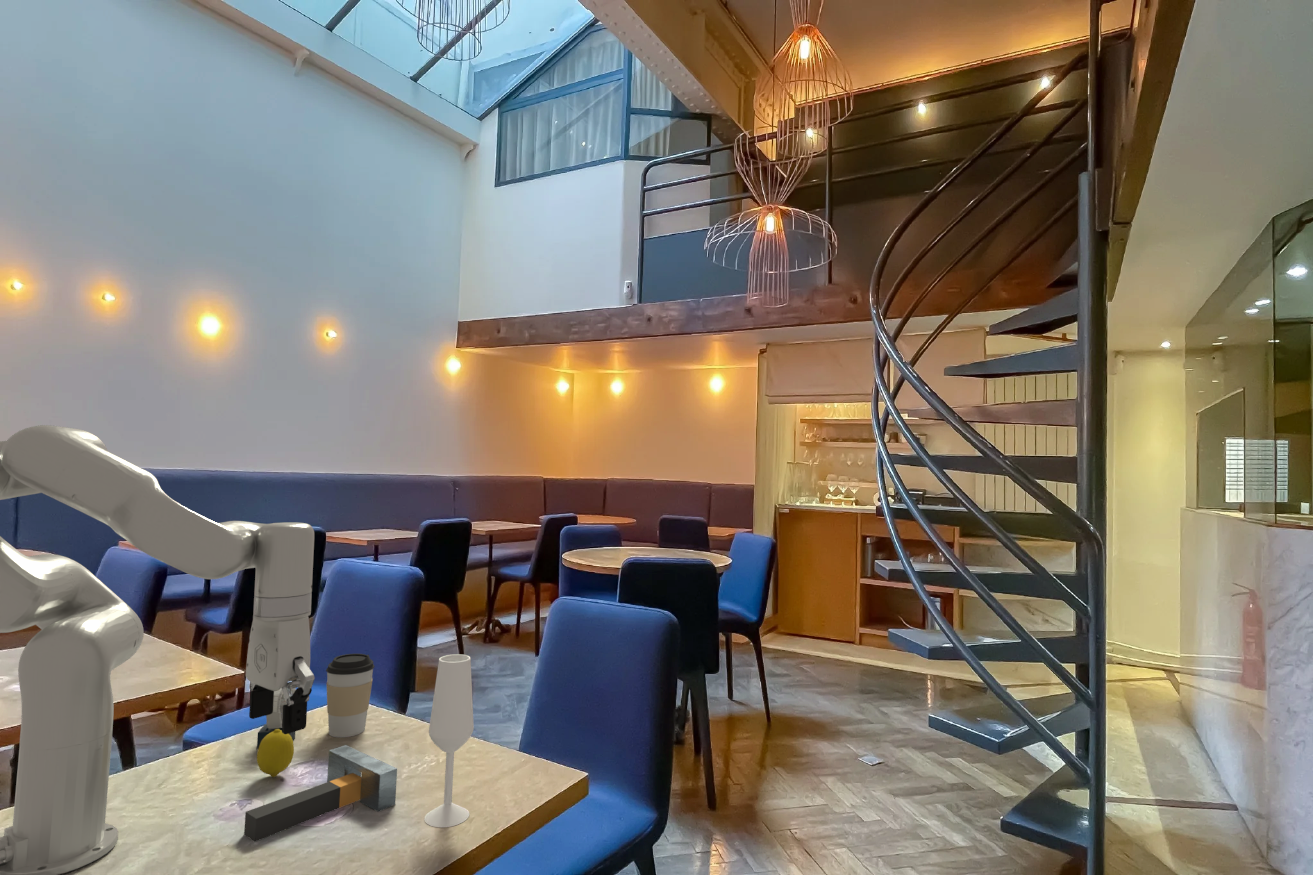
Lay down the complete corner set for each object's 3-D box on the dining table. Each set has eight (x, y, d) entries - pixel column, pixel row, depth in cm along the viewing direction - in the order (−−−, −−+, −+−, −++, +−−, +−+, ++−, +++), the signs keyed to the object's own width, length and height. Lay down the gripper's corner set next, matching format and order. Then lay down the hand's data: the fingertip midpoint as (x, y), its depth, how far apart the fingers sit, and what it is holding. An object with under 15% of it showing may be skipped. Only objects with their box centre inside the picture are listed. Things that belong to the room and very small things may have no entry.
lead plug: (254, 841, 95) (256, 818, 95) (244, 834, 97) (245, 811, 97) (362, 798, 108) (364, 778, 109) (351, 792, 110) (352, 772, 110)
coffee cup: (317, 740, 131) (321, 662, 132) (328, 723, 140) (332, 650, 141) (366, 737, 133) (371, 661, 134) (374, 721, 142) (378, 649, 143)
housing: (378, 811, 104) (380, 774, 105) (326, 784, 113) (329, 750, 113) (395, 804, 107) (397, 768, 107) (343, 778, 115) (345, 744, 116)
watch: (297, 734, 133) (301, 678, 134) (286, 751, 126) (290, 691, 126) (266, 736, 132) (269, 679, 133) (253, 753, 124) (257, 692, 125)
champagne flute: (447, 801, 108) (454, 650, 110) (478, 812, 105) (486, 656, 107) (414, 819, 102) (422, 659, 104) (447, 831, 99) (455, 666, 101)
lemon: (264, 787, 111) (267, 737, 112) (249, 777, 115) (253, 729, 115) (298, 776, 116) (301, 728, 116) (283, 767, 119) (286, 720, 119)
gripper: (229, 602, 102) (222, 717, 101) (286, 618, 92) (280, 745, 91) (279, 595, 108) (274, 704, 107) (338, 609, 98) (333, 729, 97)
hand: (277, 723), depth 99 cm, fingers open, 9 cm apart
